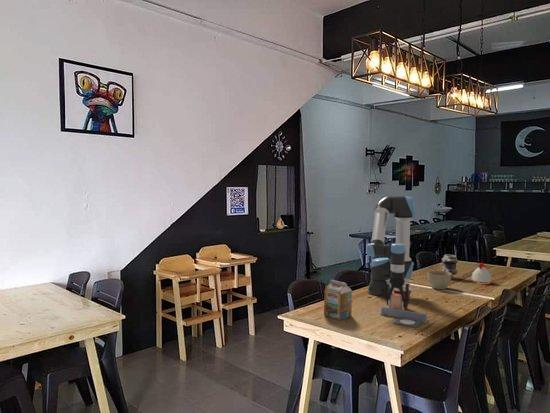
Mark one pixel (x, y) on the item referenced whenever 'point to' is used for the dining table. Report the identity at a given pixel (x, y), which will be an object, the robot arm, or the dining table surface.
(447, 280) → the planter bowl
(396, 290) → the plastic cup
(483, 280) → the kitchen timer
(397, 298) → the beige small cylinder
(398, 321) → the resting mat
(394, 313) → the divider wall
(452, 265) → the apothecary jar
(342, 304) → the milk carton
